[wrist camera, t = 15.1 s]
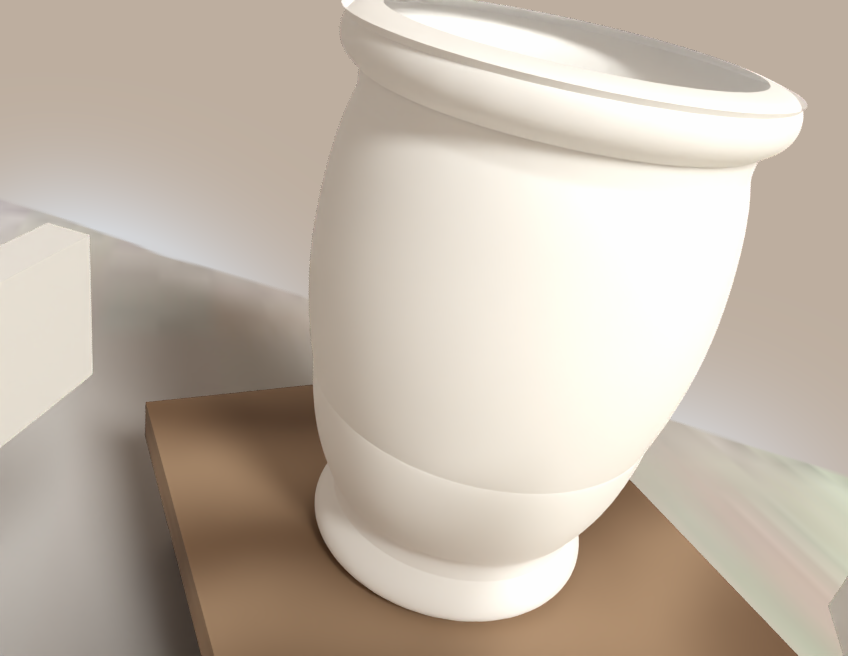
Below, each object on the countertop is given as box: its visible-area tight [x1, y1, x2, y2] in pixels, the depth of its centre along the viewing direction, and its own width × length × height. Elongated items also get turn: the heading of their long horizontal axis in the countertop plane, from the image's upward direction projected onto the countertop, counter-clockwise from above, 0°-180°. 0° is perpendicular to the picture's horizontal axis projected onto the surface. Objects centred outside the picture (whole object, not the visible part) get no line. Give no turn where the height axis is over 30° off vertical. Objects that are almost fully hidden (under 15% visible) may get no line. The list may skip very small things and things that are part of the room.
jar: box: [309, 0, 807, 622], centre depth 21 cm, size 11×10×15 cm
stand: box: [145, 385, 798, 656], centre depth 26 cm, size 16×16×6 cm
